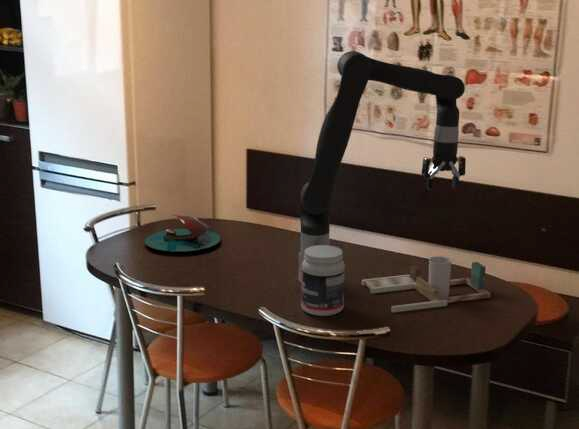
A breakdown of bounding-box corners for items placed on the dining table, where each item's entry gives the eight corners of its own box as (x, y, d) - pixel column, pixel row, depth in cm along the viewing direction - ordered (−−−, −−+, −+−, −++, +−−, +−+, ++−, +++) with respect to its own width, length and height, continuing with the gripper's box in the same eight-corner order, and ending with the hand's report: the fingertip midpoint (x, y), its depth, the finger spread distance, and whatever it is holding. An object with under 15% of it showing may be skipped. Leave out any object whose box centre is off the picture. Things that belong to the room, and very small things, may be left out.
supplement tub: (292, 307, 242) (292, 249, 237) (325, 297, 250) (326, 241, 244) (319, 321, 232) (320, 261, 227) (353, 310, 240) (354, 252, 235)
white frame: (434, 304, 244) (436, 278, 242) (414, 288, 257) (415, 263, 254) (491, 297, 250) (493, 271, 247) (468, 281, 262) (470, 257, 260)
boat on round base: (216, 256, 287) (215, 226, 284) (138, 255, 287) (136, 225, 284) (223, 233, 314) (223, 205, 311) (152, 232, 314) (150, 204, 311)
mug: (442, 302, 246) (444, 265, 243) (423, 296, 251) (425, 260, 247) (458, 292, 254) (460, 256, 250) (439, 287, 258) (441, 252, 255)
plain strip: (371, 290, 254) (372, 275, 253) (365, 284, 259) (365, 269, 258) (420, 285, 259) (421, 269, 258) (413, 279, 264) (413, 264, 263)
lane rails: (392, 312, 239) (392, 307, 238) (361, 284, 261) (362, 279, 260) (447, 305, 244) (447, 300, 243) (412, 278, 266) (412, 274, 265)
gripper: (430, 142, 249) (427, 193, 254) (472, 140, 253) (467, 190, 258) (420, 137, 256) (416, 187, 261) (460, 136, 260) (456, 185, 265)
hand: (442, 189), depth 259 cm, fingers open, 8 cm apart
